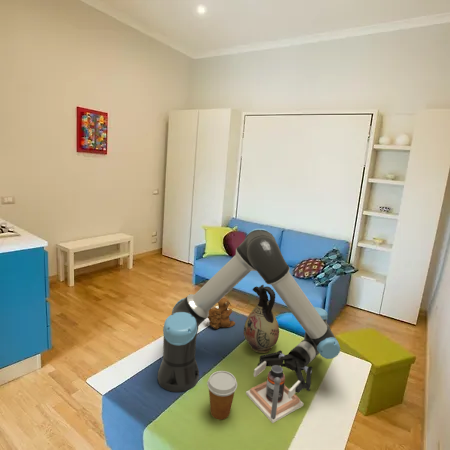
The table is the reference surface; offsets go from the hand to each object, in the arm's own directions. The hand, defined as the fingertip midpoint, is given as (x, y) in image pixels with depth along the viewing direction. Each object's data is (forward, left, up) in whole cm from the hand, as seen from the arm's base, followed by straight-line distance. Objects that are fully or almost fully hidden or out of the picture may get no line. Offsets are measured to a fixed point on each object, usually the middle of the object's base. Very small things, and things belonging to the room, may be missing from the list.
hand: (271, 383), depth 102 cm
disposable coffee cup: (-16, +6, -9) cm, 19 cm away
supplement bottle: (+3, +1, -8) cm, 8 cm away
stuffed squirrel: (+12, +50, -9) cm, 52 cm away
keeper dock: (+3, +1, -8) cm, 9 cm away
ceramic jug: (+18, +26, -9) cm, 33 cm away
